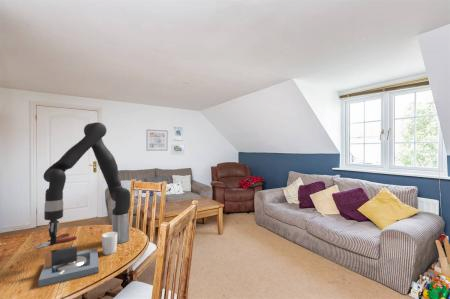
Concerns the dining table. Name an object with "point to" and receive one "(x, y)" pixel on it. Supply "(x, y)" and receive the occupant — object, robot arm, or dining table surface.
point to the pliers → (58, 240)
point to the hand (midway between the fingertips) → (53, 243)
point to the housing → (53, 276)
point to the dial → (64, 259)
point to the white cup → (109, 242)
